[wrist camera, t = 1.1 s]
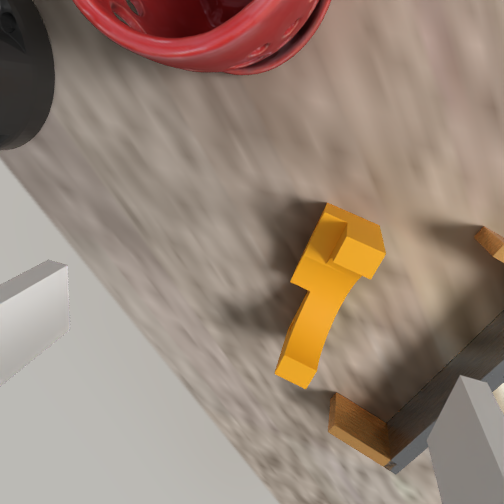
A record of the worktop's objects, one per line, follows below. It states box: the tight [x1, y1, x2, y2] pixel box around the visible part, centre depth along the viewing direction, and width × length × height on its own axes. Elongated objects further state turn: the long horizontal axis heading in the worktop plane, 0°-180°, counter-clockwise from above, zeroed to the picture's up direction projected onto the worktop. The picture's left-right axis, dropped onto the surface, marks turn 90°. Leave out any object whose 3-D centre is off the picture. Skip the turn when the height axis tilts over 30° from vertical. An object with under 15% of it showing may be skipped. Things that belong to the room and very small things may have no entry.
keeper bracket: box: [328, 226, 504, 474], centre depth 29 cm, size 7×20×4 cm, turn 152°
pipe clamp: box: [274, 203, 386, 389], centre depth 28 cm, size 12×4×6 cm, turn 159°
